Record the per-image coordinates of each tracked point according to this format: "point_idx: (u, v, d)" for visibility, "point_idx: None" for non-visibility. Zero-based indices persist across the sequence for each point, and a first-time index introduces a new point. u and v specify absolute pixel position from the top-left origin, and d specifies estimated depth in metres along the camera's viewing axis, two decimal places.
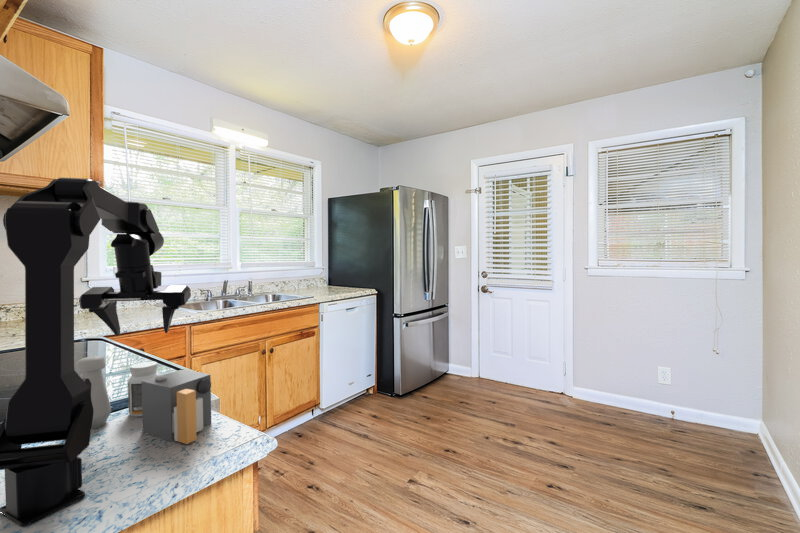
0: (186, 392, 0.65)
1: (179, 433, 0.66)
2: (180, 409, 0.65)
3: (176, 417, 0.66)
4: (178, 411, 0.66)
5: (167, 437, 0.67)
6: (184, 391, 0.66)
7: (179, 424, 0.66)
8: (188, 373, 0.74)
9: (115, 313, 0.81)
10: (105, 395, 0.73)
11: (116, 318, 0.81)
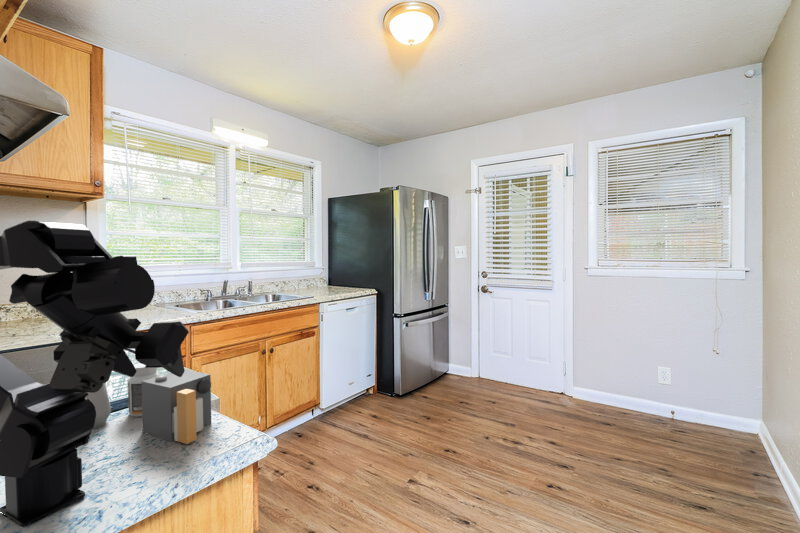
0: (186, 392, 0.65)
1: (179, 433, 0.66)
2: (180, 409, 0.65)
3: (176, 417, 0.66)
4: (178, 411, 0.66)
5: (167, 437, 0.67)
6: (184, 391, 0.66)
7: (179, 424, 0.66)
8: (188, 373, 0.74)
9: None
10: (105, 395, 0.73)
11: None
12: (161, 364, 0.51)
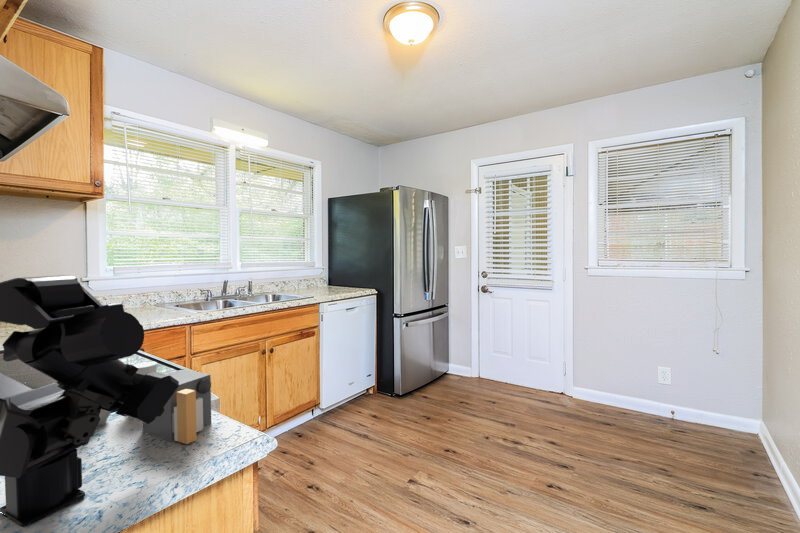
0: (186, 392, 0.65)
1: (179, 433, 0.66)
2: (180, 409, 0.65)
3: (176, 417, 0.66)
4: (178, 411, 0.66)
5: (167, 437, 0.67)
6: (184, 391, 0.66)
7: (179, 424, 0.66)
8: (188, 373, 0.74)
9: None
10: None
11: None
12: (144, 422, 0.50)
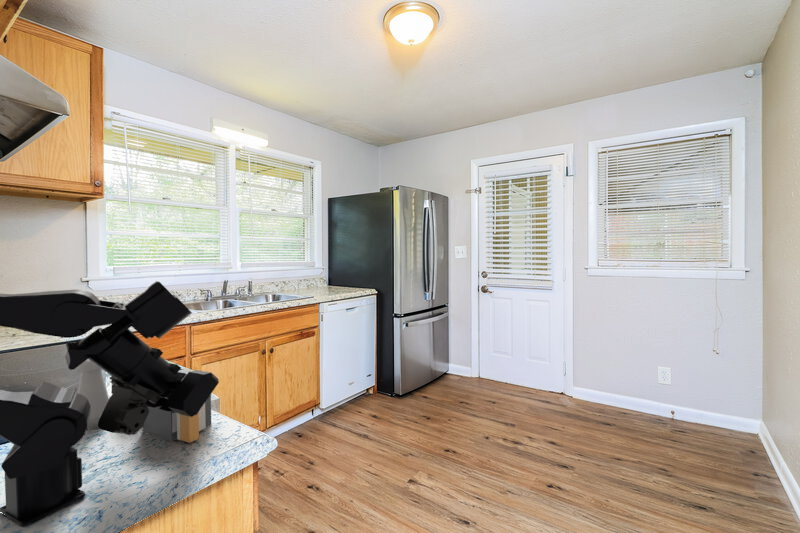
0: None
1: (182, 432, 0.66)
2: None
3: (179, 416, 0.66)
4: None
5: (167, 437, 0.67)
6: None
7: (182, 423, 0.66)
8: None
9: None
10: (105, 395, 0.73)
11: None
12: (189, 415, 0.55)
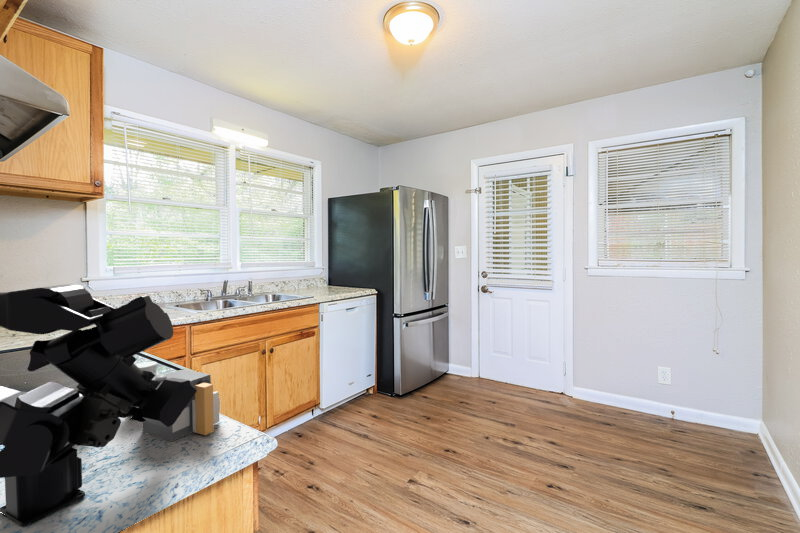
0: (204, 386, 0.69)
1: (197, 425, 0.69)
2: (199, 402, 0.68)
3: (194, 409, 0.69)
4: (196, 404, 0.69)
5: (167, 437, 0.67)
6: (202, 385, 0.69)
7: (198, 417, 0.69)
8: (188, 373, 0.74)
9: None
10: None
11: None
12: (165, 425, 0.52)
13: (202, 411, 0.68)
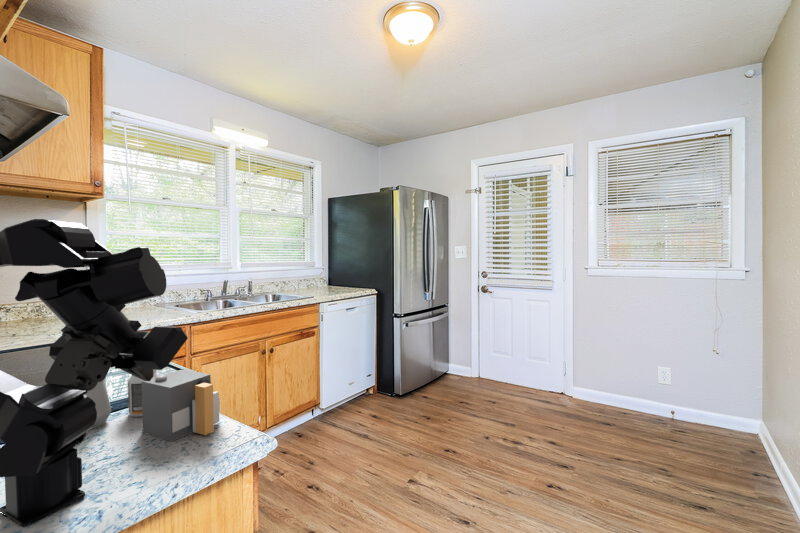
0: (204, 386, 0.69)
1: (197, 425, 0.69)
2: (199, 402, 0.68)
3: (194, 409, 0.69)
4: (196, 404, 0.69)
5: (167, 437, 0.67)
6: (202, 385, 0.69)
7: (198, 417, 0.69)
8: (188, 373, 0.74)
9: None
10: (105, 395, 0.73)
11: None
12: (158, 368, 0.52)
13: (202, 411, 0.68)
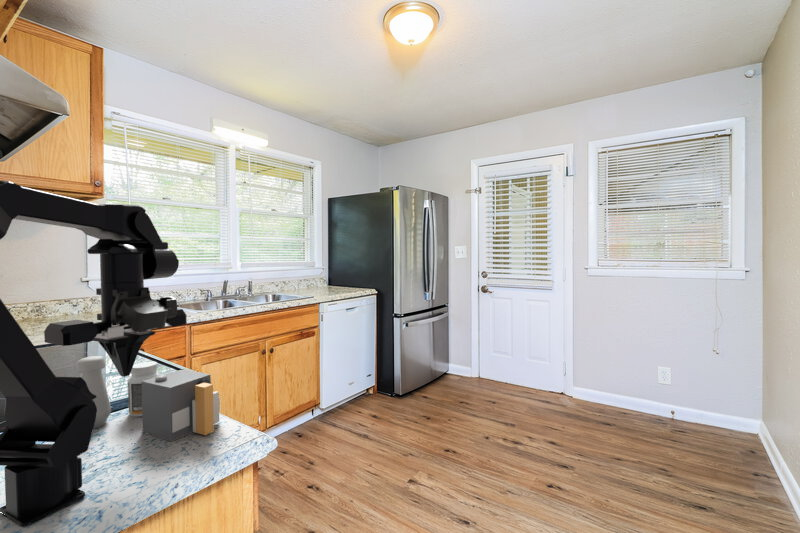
0: (204, 386, 0.69)
1: (197, 425, 0.69)
2: (199, 402, 0.68)
3: (194, 409, 0.69)
4: (196, 404, 0.69)
5: (167, 437, 0.67)
6: (202, 385, 0.69)
7: (198, 417, 0.69)
8: (188, 373, 0.74)
9: (129, 348, 0.63)
10: (105, 395, 0.73)
11: (128, 354, 0.63)
12: (184, 322, 0.70)
13: (202, 411, 0.68)
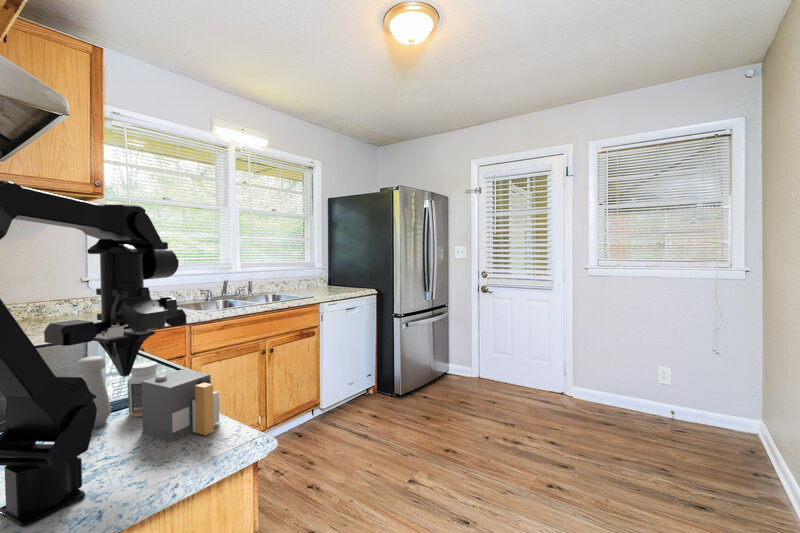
0: (204, 386, 0.69)
1: (197, 425, 0.69)
2: (199, 402, 0.68)
3: (194, 409, 0.69)
4: (196, 404, 0.69)
5: (167, 437, 0.67)
6: (202, 385, 0.69)
7: (198, 417, 0.69)
8: (188, 373, 0.74)
9: (129, 348, 0.63)
10: (105, 395, 0.73)
11: (128, 354, 0.63)
12: (184, 322, 0.70)
13: (202, 411, 0.68)
